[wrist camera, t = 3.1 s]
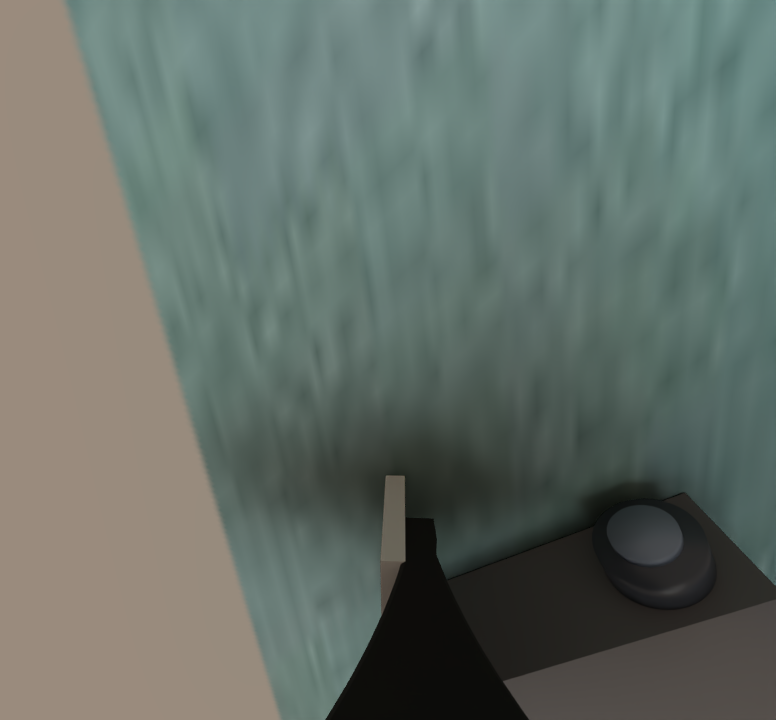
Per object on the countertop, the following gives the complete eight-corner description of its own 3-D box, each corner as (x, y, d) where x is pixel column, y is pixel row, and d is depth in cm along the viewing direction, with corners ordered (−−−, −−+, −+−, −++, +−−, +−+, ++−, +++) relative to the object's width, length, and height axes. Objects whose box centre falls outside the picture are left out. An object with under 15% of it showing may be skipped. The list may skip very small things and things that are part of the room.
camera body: (673, 463, 12) (774, 560, 9) (728, 608, 15) (825, 729, 11) (394, 571, 14) (391, 682, 11) (479, 683, 17) (498, 804, 13)
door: (384, 475, 12) (378, 561, 10) (406, 475, 12) (407, 561, 10) (386, 602, 15) (381, 705, 12) (405, 603, 15) (405, 705, 12)
